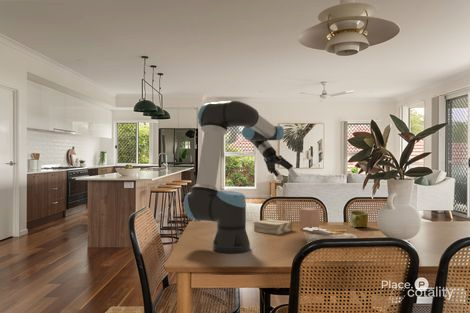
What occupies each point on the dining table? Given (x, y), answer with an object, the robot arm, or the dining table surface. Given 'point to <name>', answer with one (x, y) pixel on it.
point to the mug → (358, 219)
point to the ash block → (273, 226)
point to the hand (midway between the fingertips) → (289, 178)
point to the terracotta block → (309, 218)
